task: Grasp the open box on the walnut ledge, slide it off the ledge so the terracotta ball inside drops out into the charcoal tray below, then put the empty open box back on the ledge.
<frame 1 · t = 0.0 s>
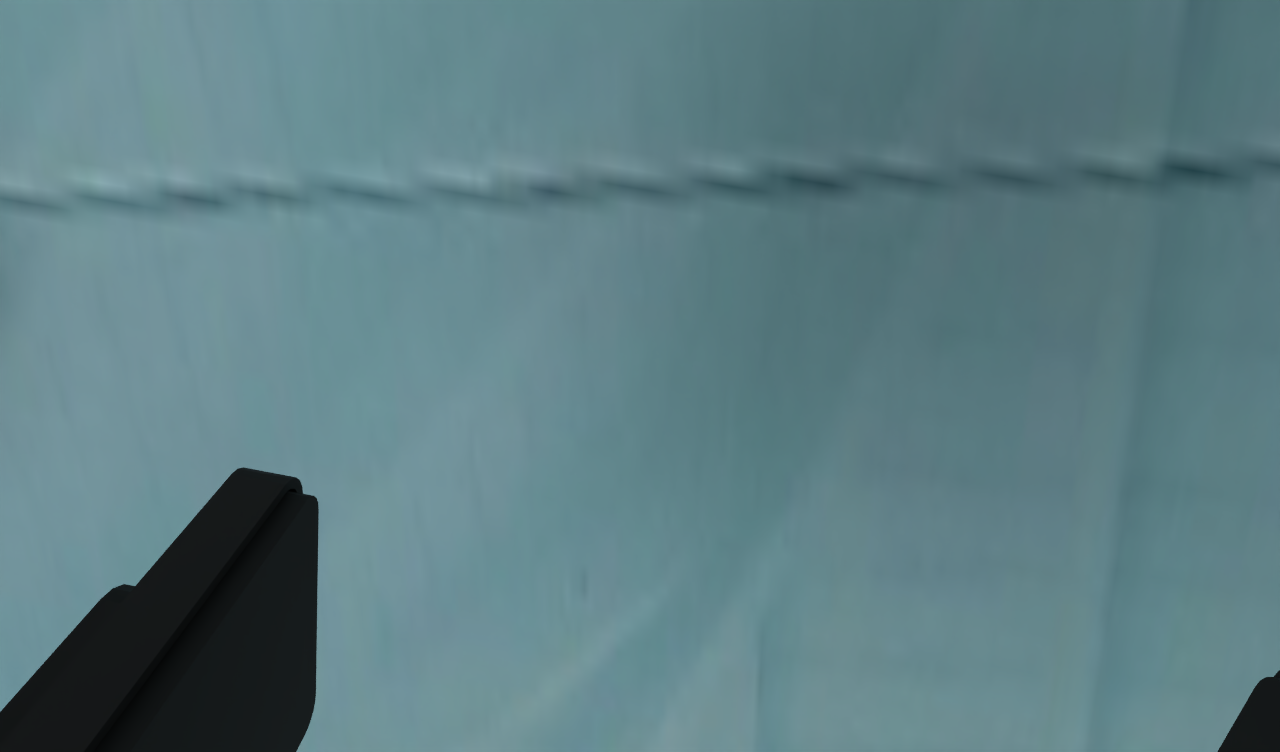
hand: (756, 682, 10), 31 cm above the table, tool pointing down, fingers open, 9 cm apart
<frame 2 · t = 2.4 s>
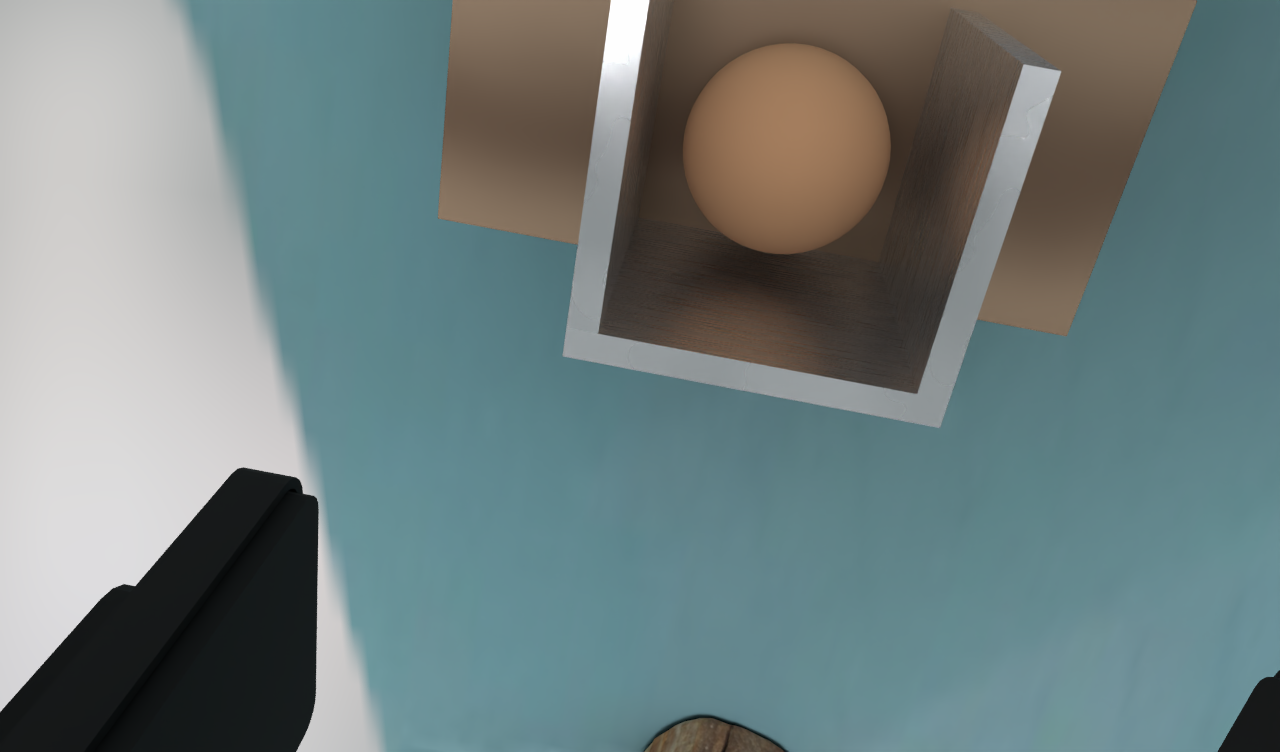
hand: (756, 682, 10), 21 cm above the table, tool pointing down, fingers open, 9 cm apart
ball: (785, 151, 22), point 7 cm above the table, touching ledge
ledge: (781, 78, 28), on the table
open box: (785, 118, 24), point 5 cm above the table, touching ledge
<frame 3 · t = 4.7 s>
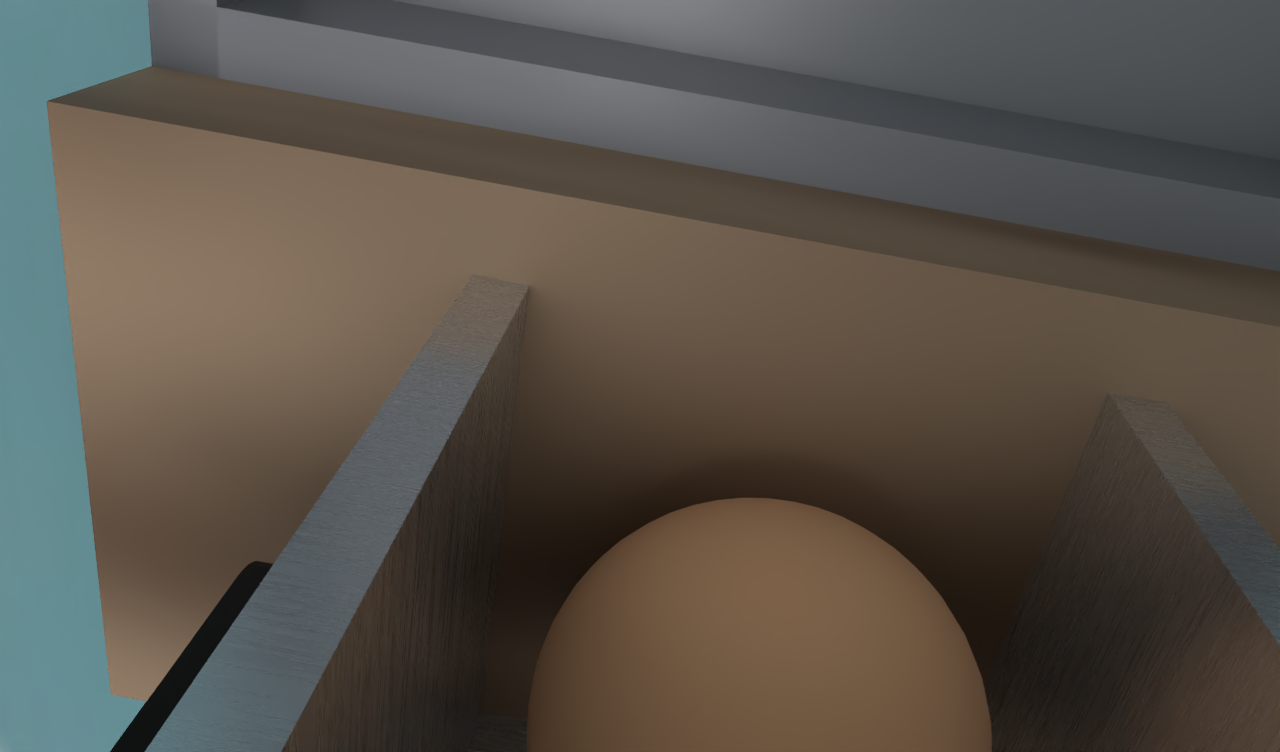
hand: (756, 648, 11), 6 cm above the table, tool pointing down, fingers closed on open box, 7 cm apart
ball: (753, 724, 10), point 7 cm above the table, touching ledge
ledge: (755, 377, 16), on the table
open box: (756, 570, 12), point 5 cm above the table, touching gripper, ledge
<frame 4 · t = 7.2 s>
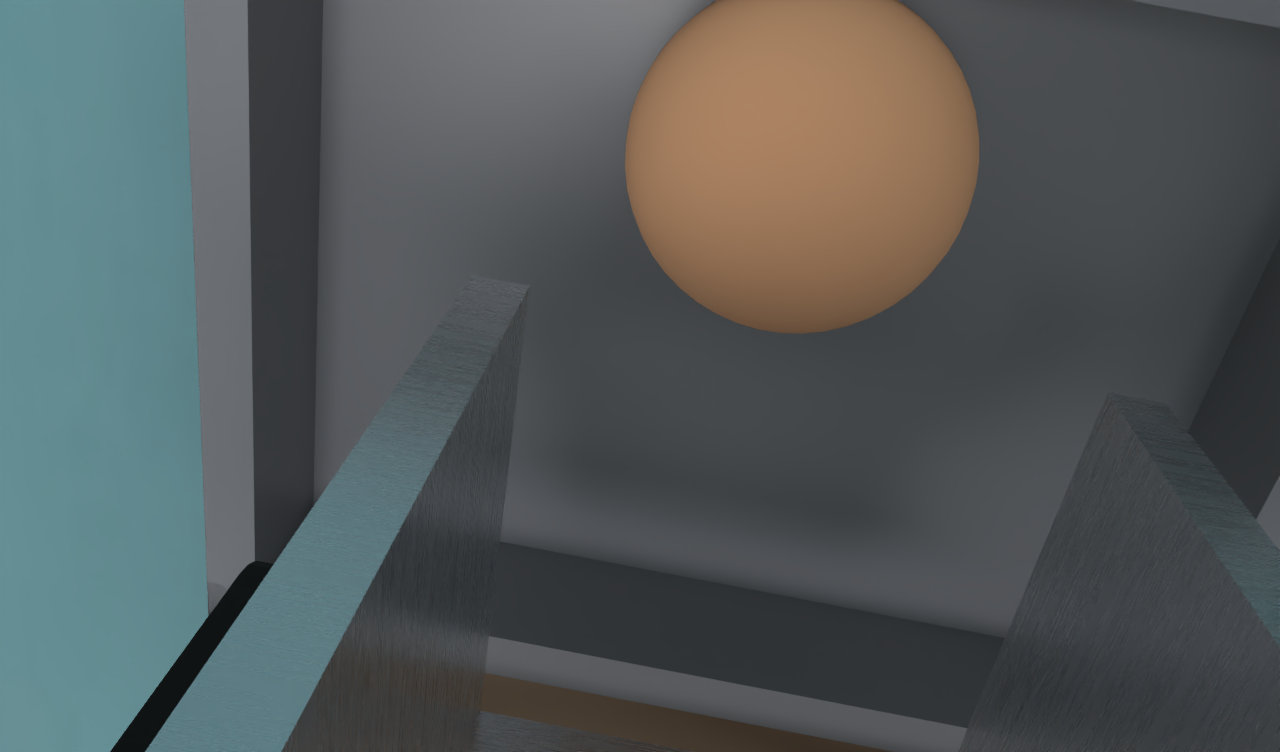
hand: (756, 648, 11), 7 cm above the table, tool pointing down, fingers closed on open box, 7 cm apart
ball: (797, 160, 13), point 3 cm above the table, tilted 33°, touching tray
tray: (760, 296, 17), on the table
ledge: (655, 744, 21), on the table
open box: (756, 570, 12), point 6 cm above the table, touching gripper
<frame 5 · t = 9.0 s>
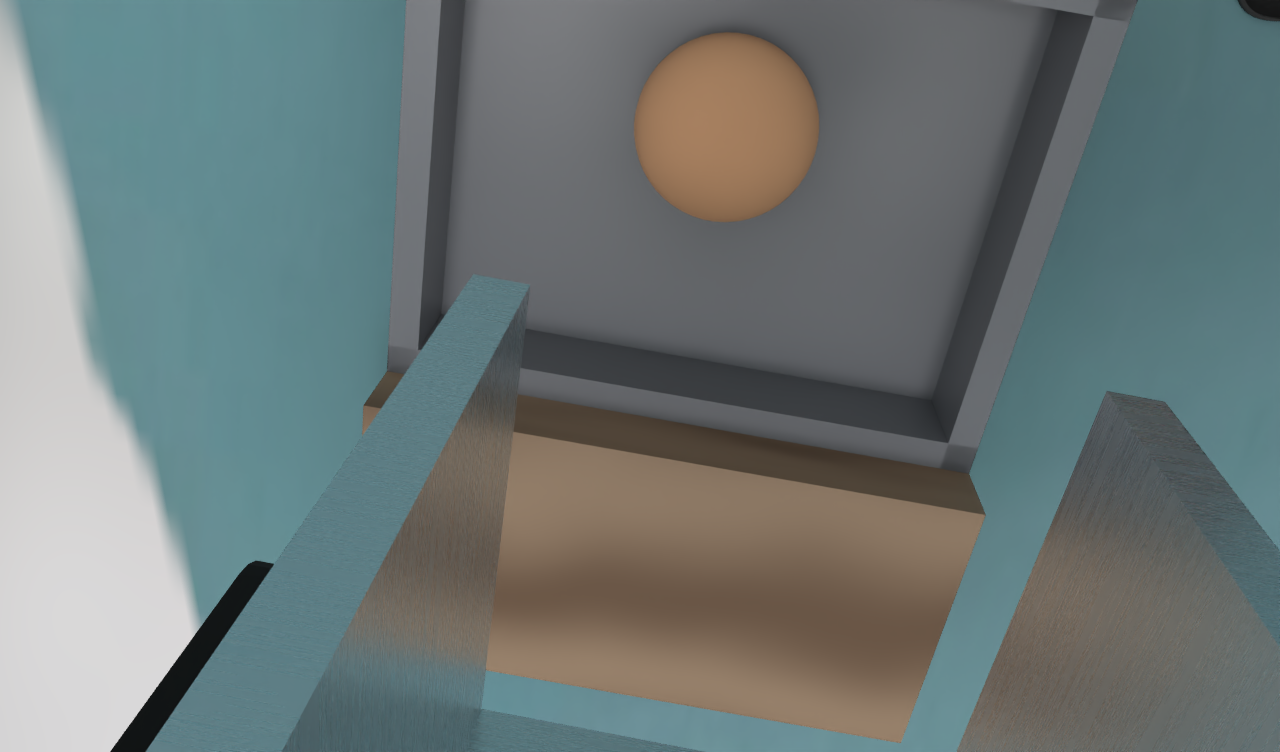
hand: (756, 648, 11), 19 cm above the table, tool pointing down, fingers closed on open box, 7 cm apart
ball: (725, 129, 24), point 3 cm above the table, touching tray
tray: (723, 167, 28), on the table
ledge: (660, 486, 32), on the table
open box: (756, 568, 12), point 18 cm above the table, touching gripper
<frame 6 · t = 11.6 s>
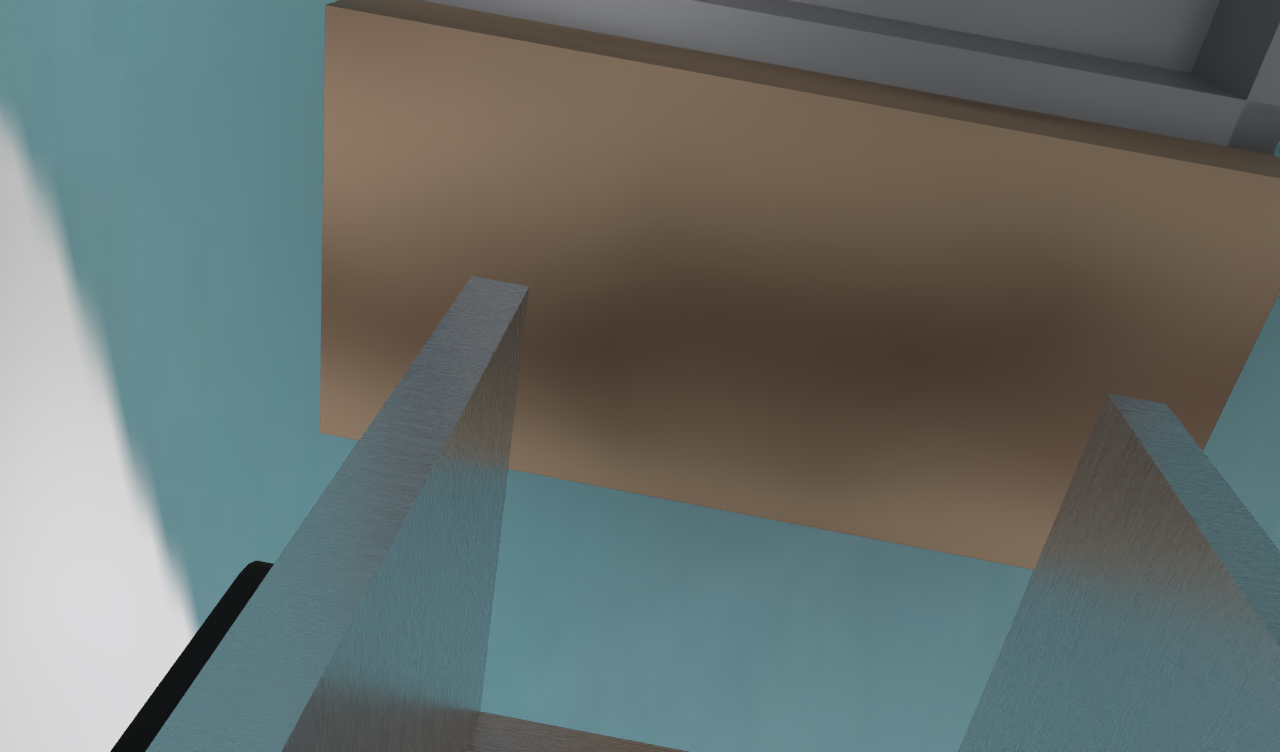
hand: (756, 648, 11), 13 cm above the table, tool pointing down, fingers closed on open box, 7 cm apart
ledge: (766, 232, 22), on the table
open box: (756, 571, 12), point 12 cm above the table, touching gripper
when the fingers open (8 cm above the table, at t = 13.6 s): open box drops 1 cm, resting on ledge.
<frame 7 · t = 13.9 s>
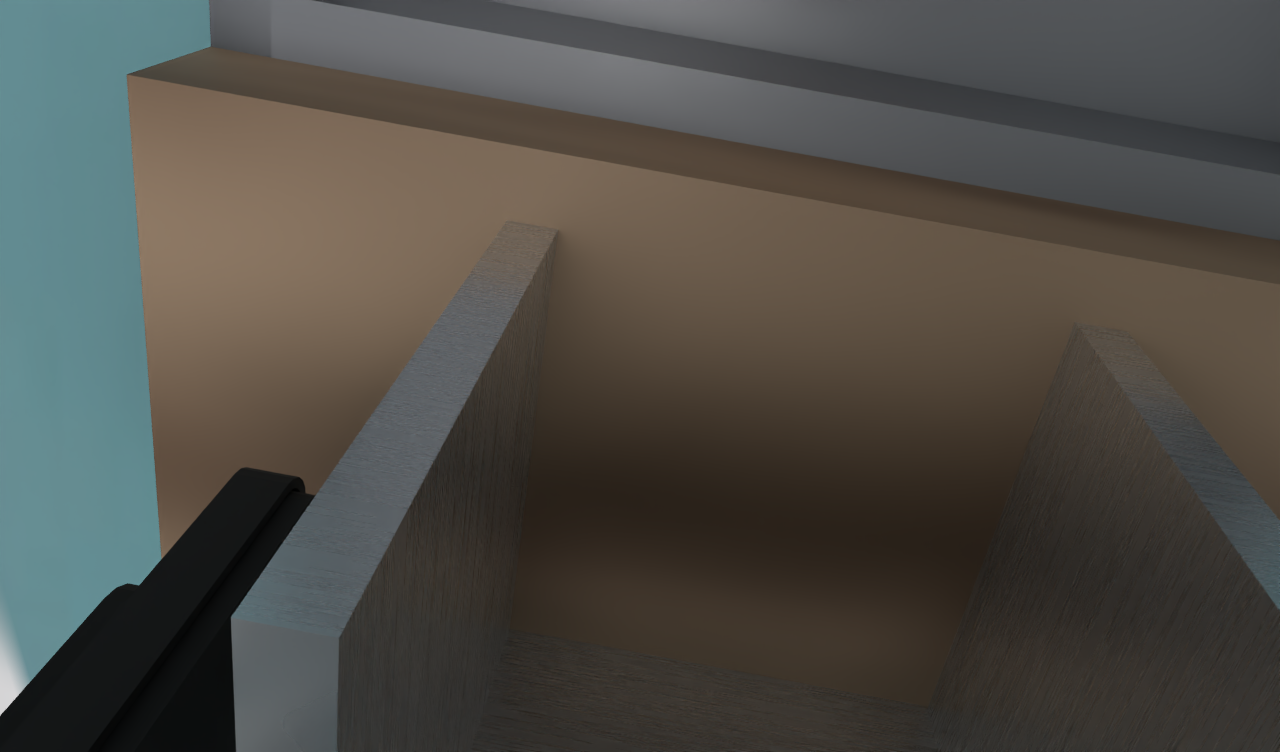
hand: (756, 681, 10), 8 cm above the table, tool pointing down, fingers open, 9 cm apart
ledge: (755, 339, 18), on the table
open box: (761, 491, 13), point 5 cm above the table, touching ledge
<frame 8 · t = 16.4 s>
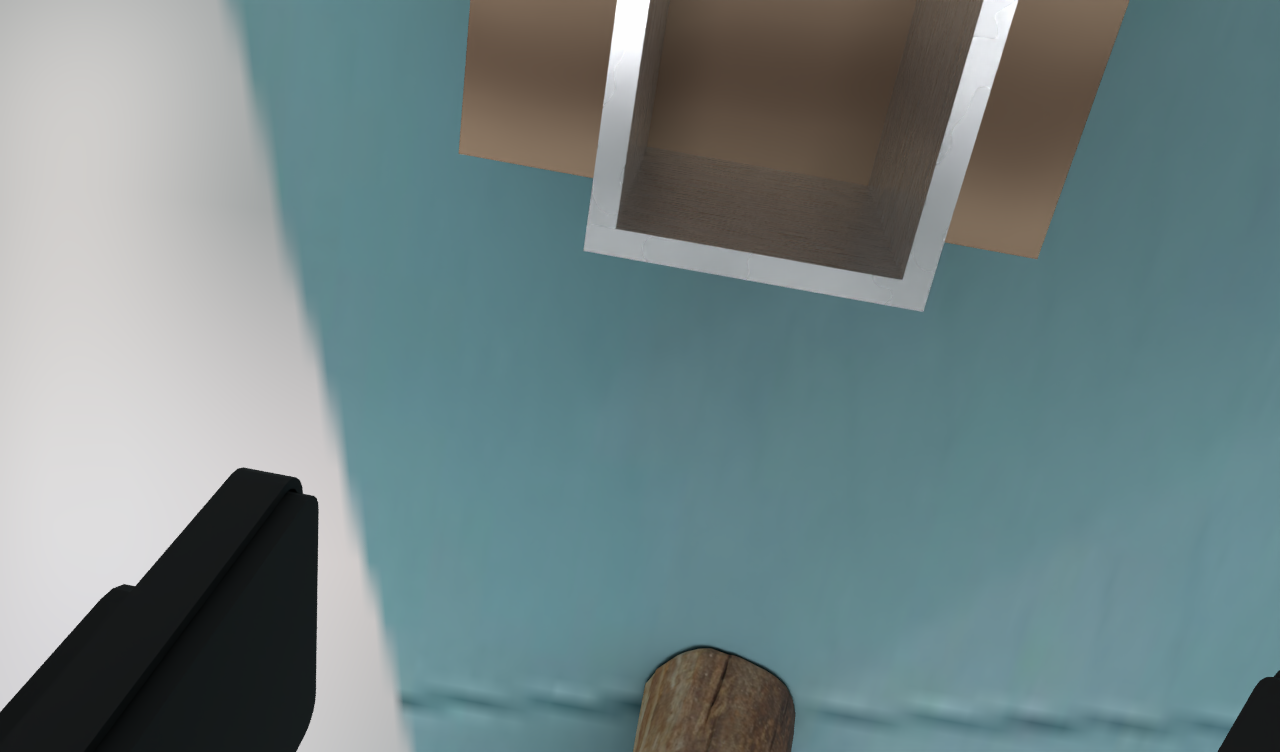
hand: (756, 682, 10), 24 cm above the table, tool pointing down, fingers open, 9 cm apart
ledge: (774, 28, 30), on the table
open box: (781, 51, 26), point 5 cm above the table, touching ledge
sculpture: (683, 700, 43), on the table
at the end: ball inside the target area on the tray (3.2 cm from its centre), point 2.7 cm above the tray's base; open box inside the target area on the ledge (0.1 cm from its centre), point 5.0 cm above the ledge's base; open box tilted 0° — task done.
